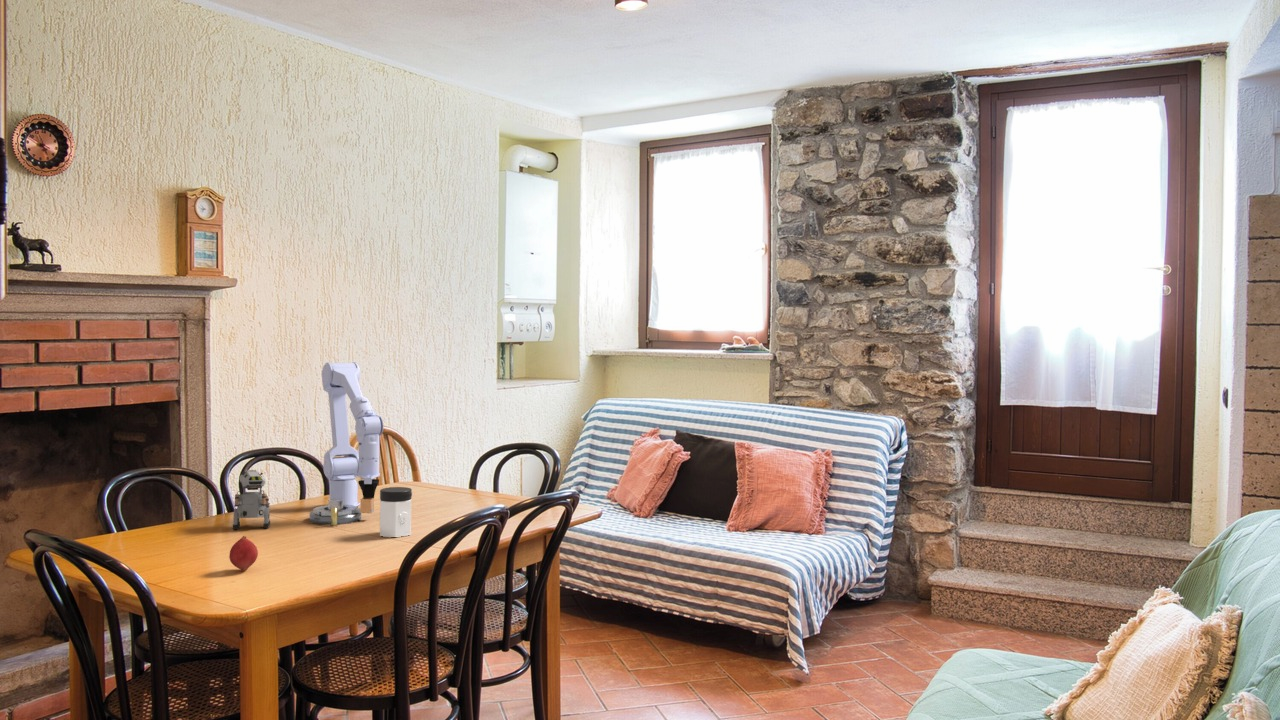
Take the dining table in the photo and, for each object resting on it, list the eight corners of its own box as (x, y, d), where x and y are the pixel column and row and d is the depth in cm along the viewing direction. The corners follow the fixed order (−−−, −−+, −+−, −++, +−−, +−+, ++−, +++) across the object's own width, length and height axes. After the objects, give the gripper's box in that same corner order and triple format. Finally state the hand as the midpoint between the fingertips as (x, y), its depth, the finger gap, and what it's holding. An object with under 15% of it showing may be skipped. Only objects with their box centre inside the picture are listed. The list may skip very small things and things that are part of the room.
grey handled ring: (307, 515, 254) (307, 501, 254) (322, 507, 265) (322, 493, 265) (366, 516, 253) (366, 502, 253) (378, 508, 265) (378, 495, 265)
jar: (387, 539, 236) (388, 493, 236) (372, 534, 242) (373, 489, 242) (418, 534, 242) (419, 489, 242) (403, 529, 248) (403, 485, 248)
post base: (320, 514, 266) (320, 495, 266) (367, 515, 266) (367, 496, 266) (301, 524, 252) (301, 504, 252) (351, 525, 252) (352, 505, 252)
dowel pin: (332, 525, 252) (332, 507, 251) (337, 525, 252) (338, 507, 251) (330, 526, 250) (330, 508, 250) (335, 526, 250) (336, 508, 250)
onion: (224, 573, 201) (224, 537, 200) (237, 567, 206) (237, 532, 206) (250, 574, 200) (250, 538, 200) (262, 567, 206) (262, 532, 206)
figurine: (272, 521, 255) (273, 468, 255) (267, 530, 244) (267, 474, 244) (237, 522, 253) (237, 469, 253) (230, 531, 242) (230, 475, 241)
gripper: (355, 454, 267) (355, 500, 268) (352, 461, 253) (352, 510, 254) (380, 454, 269) (380, 500, 269) (379, 461, 255) (379, 509, 255)
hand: (368, 505), depth 262 cm, fingers closed, pressing on grey handled ring
